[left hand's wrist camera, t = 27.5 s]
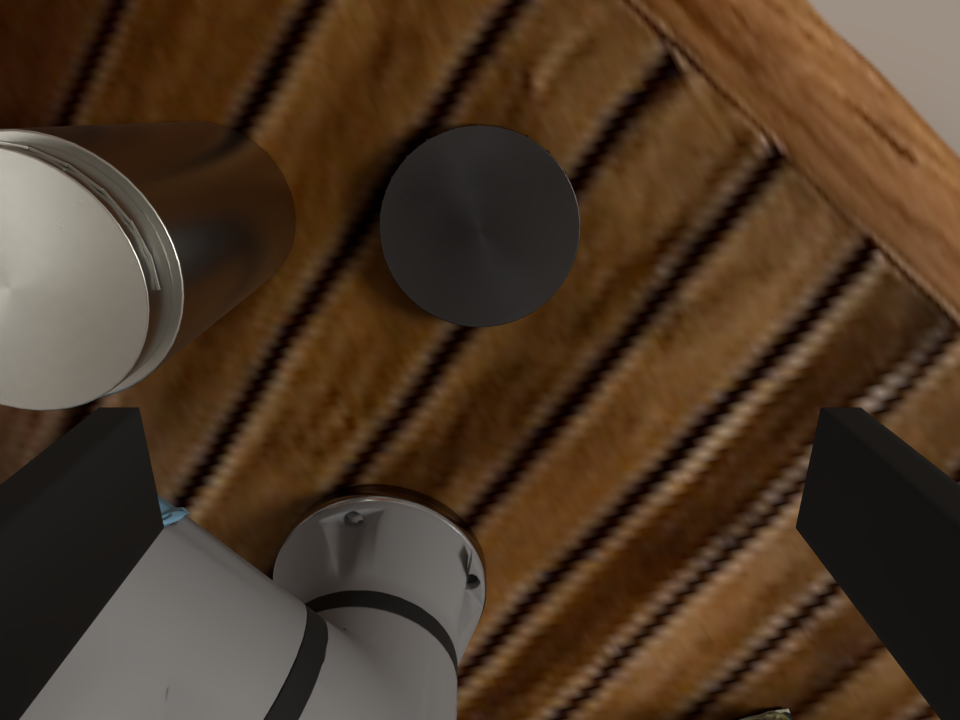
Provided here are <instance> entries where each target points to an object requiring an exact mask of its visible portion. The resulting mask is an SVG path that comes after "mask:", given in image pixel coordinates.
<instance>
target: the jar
mask: <svg viewBox="0 0 960 720" xmlns="http://www.w3.org/2000/svg"><path fill="white" fill-rule="evenodd" d="M294 232H295V210H294V203H293V199H292V195H291V192H290V190H289V187H288V184H287V182H286V180H285V178H284V176H283V174H282V173H281V171H280V169H279V168H278V166H277V165H276V164H275V162H274V161H273V160H272V159H271V157H270V156H269V155H268V154H267V153H266V152H265V151H264V150H263V149H262V148H261V147H260V146H259V145H257V144H256V143H255V142H254V141H252V140H251V139H249V138H248V137H247V136H245V135H243V134H241V133H239V132H237V131H236V130H233V129H231V128H228V127H226V126H223V125H219V124H215V123H210V122H201V121H193V122H165V123H140V124H114V125H89V126H63V127H37V128H12V129H0V404H2V405H5V406H10V407H15V408H20V409H29V410H59V409H66V408H72V407H76V406H79V405H83V404H86V403H88V402H91V401H93V400H95V399H97V398H100V397H104V396H107V395H111V394H114V393H118V392H120V391H123V390H125V389H127V388H129V387H132V386H134V385H135V384H137V383H138V382H140V381H142V380H143V379H145V378H146V377H147V376H149V375H150V374H151V373H152V372H154V371H155V370H156V369H157V368H159V367H160V366H161V365H162V364H164V363H165V362H166V361H167V360H169V359H170V358H171V357H172V356H174V355H175V354H176V353H177V352H179V351H180V350H181V349H182V348H184V347H185V346H186V345H187V344H189V343H190V342H191V341H192V340H194V339H195V338H196V337H197V336H199V335H200V334H201V333H202V332H204V331H205V330H206V329H207V328H209V327H210V326H211V325H212V324H214V323H215V322H216V321H217V320H219V319H220V318H221V317H222V316H224V315H225V314H226V313H227V312H229V311H230V310H231V309H232V308H234V307H235V306H236V305H237V304H239V303H240V302H241V301H242V300H244V299H245V298H246V297H247V296H249V295H250V294H251V293H252V292H254V291H255V290H256V289H257V288H259V287H260V286H261V285H262V284H264V283H265V282H266V281H267V280H268V279H270V278H271V277H272V276H273V275H274V274H275V273H276V272H277V271H278V270H279V268H280V267H281V266H282V264H283V263H284V261H285V260H286V258H287V256H288V253H289V251H290V249H291V246H292V242H293V239H294Z"/></svg>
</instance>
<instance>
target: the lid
mask: <svg viewBox="0 0 960 720" xmlns="http://www.w3.org/2000/svg"><path fill="white" fill-rule="evenodd" d="M549 153H550V152H549V151H548V150H545V149H544V148H542V147H541V146H540V145H539V144H537V143H536V142H534V141H533V140H531V139H529V136H527V135H525V136H524V135H522V134H520V133H517V132H515V131H513V130H510V129H507V128H504V126H502V127H499V126H492V125H478V123H476V125H467V126H462V127H457V128H453V127H451V128H450V130H447V131H444V132H442V133H440V134H438V135H436V136H434V137H432V138H427V139H426V142H424V143H423V144H421V145H420V146H418V147H417V148H416V149H415V150H414V151H413V152H412V153H410V154H408V155H407V156H406V157H407V158H406V159H405V160H404V161H403V162H402V163H401V165H400V166H399V167H398V169H397V170H396V172H395V174H394V175H393V176H391V181H390V183H389V185H388V187H387V189H386V192H385V196H384V199H383V200H382V207H381V213H380V226H379V228H380V240H381V245H382V250H383V254H384V257H385V260H386V263H387V266H388V268H389V270H390V272H391V274H392V276H393V278H394V279H395V281H396V282H397V284H398V285H399V286H400V288H401V289H402V290H403V291H404V293H405V294H406V295H407V296H408V297H409V298H410V299H411V300H412V301H413V302H414V303H416V304H417V305H418V306H419V307H421V308H422V309H423V310H425V311H426V312H428V313H429V314H431V315H433V316H435V317H437V318H439V319H442V320H444V321H447V322H450V323H453V324H458V325H462V326H470V327H491V326H497V325H503V324H506V323H510V322H513V321H515V320H518V319H520V318H523V317H525V316H527V315H528V314H530V313H532V312H533V311H535V310H537V309H538V308H539V307H540V306H542V305H543V304H544V303H546V302H547V301H548V300H549V299H550V298H551V297H552V296H553V295H554V294H555V293H556V291H557V290H558V289H559V287H560V286H561V285H562V284H563V282H564V280H565V279H566V277H567V275H568V274H569V272H570V269H571V267H572V265H573V262H574V260H575V256H576V253H577V250H578V244H579V238H580V216H579V208H578V204H577V199H576V197H577V196H576V195H575V193H574V190H573V188H572V185H571V183H570V181H569V179H568V177H567V176H566V172H565V171H564V170H563V169H562V168H561V166H560V165H559V164H558V162H557V161H556V160H555V159H554V158H553V157H552V156H551V155H550V154H549Z"/></svg>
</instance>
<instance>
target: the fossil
mask: <svg viewBox="0 0 960 720" xmlns="http://www.w3.org/2000/svg"><path fill="white" fill-rule="evenodd" d="M740 720H793V719H792V717H791V714H790V712H789V709H783V710H774V711H768V712H765V713H762V714H759V715H755V716H750V717H747V718H743V719H740Z"/></svg>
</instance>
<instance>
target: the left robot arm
mask: <svg viewBox="0 0 960 720" xmlns="http://www.w3.org/2000/svg"><path fill="white" fill-rule="evenodd" d="M189 513H190V512H188V511H187V510H186V509H185V508H183V507H175V506H173V505H171V504H170V503H168V502H167V501H165V500H164V499H162V498H161V497H159V496H158V495H157V491H156V486H155V481H154V476H153V472H152V467H151V462H150V457H149V452H148V448H147V443H146V438H145V433H144V429H143V424H142V419H141V414H140V410H139V408H98V409H97V410H96V411H94V412H93V413H92V414H90V415H89V416H88V417H87V418H85V419H84V420H83V421H82V422H80V423H79V424H78V425H76V426H75V427H74V428H73V429H71V430H70V431H69V432H67V433H66V434H65V435H64V436H62V437H61V438H60V439H58V440H57V441H56V442H55V443H53V444H52V445H51V446H50V447H48V448H47V449H46V450H44V451H43V452H42V453H41V454H39V455H38V456H37V457H35V458H34V459H33V460H32V461H30V462H29V463H28V464H26V465H25V466H24V467H23V468H21V469H20V470H19V471H18V472H16V473H15V474H14V475H12V476H11V477H10V478H9V479H7V480H6V481H5V482H3V483H2V484H1V485H0V720H456V715H457V671H458V665H459V663H460V661H461V659H462V656H463V654H464V652H465V650H466V648H467V646H468V643H469V641H470V639H471V637H472V635H473V632H474V630H475V628H476V626H477V624H478V622H479V620H480V618H481V616H482V613H483V609H484V606H485V600H486V565H485V560H484V555H483V552H482V549H481V547H480V544H479V542H478V540H477V538H476V537H475V535H474V533H473V532H472V530H471V529H470V528H469V526H468V525H467V524H466V523H465V522H464V521H463V520H462V519H461V518H460V517H459V516H458V515H457V514H456V513H455V512H454V511H452V510H451V509H450V508H448V507H447V506H445V505H444V504H442V503H441V502H439V501H437V500H435V499H433V498H431V497H429V496H427V495H424V494H422V493H419V492H416V491H412V490H409V489H404V488H400V487H392V486H363V487H355V488H351V489H347V490H343V491H340V492H337V493H334V494H332V495H330V496H327V497H325V498H324V499H322V500H320V501H318V502H317V503H315V504H314V505H312V506H311V507H310V508H308V509H307V510H306V511H305V512H304V513H303V514H302V515H301V516H300V517H299V518H298V519H297V520H296V522H295V523H294V524H293V526H292V527H291V529H290V531H289V532H288V534H287V536H286V538H285V541H284V543H283V545H282V547H281V549H280V552H279V554H278V556H277V559H276V563H275V566H274V572H273V580H271V579H270V578H269V577H267V576H266V575H265V574H263V573H262V572H261V571H259V570H258V569H257V568H255V567H254V566H253V565H251V564H250V563H249V562H247V561H246V560H245V559H243V558H242V557H241V556H239V555H238V554H237V553H235V552H234V551H233V550H231V549H230V548H229V547H227V546H226V545H225V544H224V543H222V542H221V541H220V540H218V539H217V538H216V537H214V536H213V535H212V534H210V533H209V532H208V531H206V530H205V529H204V528H202V527H201V526H200V525H198V524H197V523H196V522H194V521H193V520H192V519H190V518H189V517H188V516H187V515H188V514H189ZM796 529H797V530H798V532H799V533H800V534H801V535H802V537H803V538H804V539H805V541H806V542H807V543H808V545H809V546H810V547H811V549H812V550H813V551H814V553H815V554H816V555H817V557H818V558H819V559H820V561H821V562H822V563H823V565H824V566H825V567H826V569H827V570H828V571H829V573H830V574H831V575H832V576H833V578H834V579H835V580H836V582H837V583H838V584H839V586H840V587H841V588H842V590H843V591H844V592H845V594H846V595H847V596H848V598H849V599H850V600H851V602H852V603H853V604H854V606H855V607H856V608H857V610H858V611H859V612H860V614H861V615H862V616H863V617H864V619H865V620H866V621H867V623H868V624H869V625H870V627H871V628H872V629H873V631H874V632H875V633H876V635H877V636H878V637H879V639H880V640H881V641H882V643H883V644H884V645H885V647H886V648H887V649H888V651H889V652H890V653H891V655H892V656H893V657H894V658H895V660H896V661H897V662H898V664H899V665H900V666H901V668H902V669H903V670H904V672H905V673H906V674H907V676H908V677H909V678H910V680H911V681H912V682H913V684H914V685H915V686H916V688H917V689H918V690H919V692H920V693H921V694H922V696H923V697H924V698H925V699H926V701H927V702H928V703H929V705H930V706H931V707H932V709H933V710H934V711H935V713H936V714H937V715H938V717H939V718H940V719H941V720H960V485H959V484H958V483H957V482H955V481H954V480H953V479H951V478H950V477H949V476H948V475H946V474H945V473H944V472H942V471H941V470H940V469H939V468H937V467H936V466H935V465H934V464H932V463H931V462H930V461H928V460H927V459H926V458H925V457H923V456H922V455H921V454H919V453H918V452H917V451H916V450H914V449H913V448H912V447H910V446H909V445H908V444H907V443H905V442H904V441H903V440H902V439H900V438H899V437H898V436H896V435H895V434H894V433H893V432H891V431H890V430H889V429H887V428H886V427H885V426H884V425H882V424H881V423H880V422H878V421H877V420H876V419H875V418H873V417H872V416H871V415H870V414H868V413H867V412H866V411H864V410H863V409H862V408H821V410H820V414H819V419H818V424H817V429H816V433H815V438H814V443H813V448H812V452H811V457H810V462H809V467H808V472H807V476H806V481H805V486H804V491H803V495H802V500H801V505H800V510H799V514H798V519H797V524H796Z"/></svg>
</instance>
